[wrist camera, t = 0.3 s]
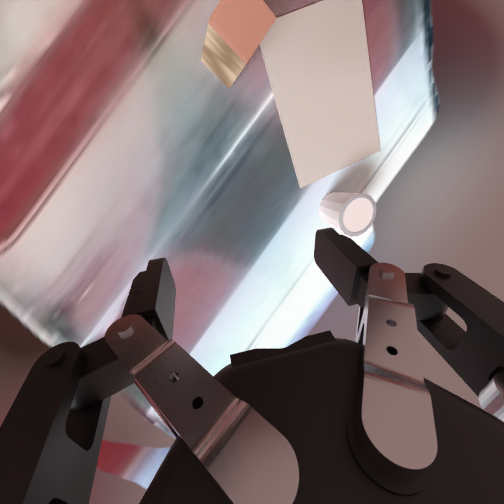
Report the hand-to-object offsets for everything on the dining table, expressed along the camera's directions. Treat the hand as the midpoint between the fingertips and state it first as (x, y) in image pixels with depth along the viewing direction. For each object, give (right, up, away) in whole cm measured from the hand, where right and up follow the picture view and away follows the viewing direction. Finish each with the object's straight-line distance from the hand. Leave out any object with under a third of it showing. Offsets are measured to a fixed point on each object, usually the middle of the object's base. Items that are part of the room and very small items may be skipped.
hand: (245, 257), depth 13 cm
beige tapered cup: (+15, +8, +31) cm, 35 cm away
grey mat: (+12, +24, +24) cm, 35 cm away
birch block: (-3, +26, +18) cm, 32 cm away
